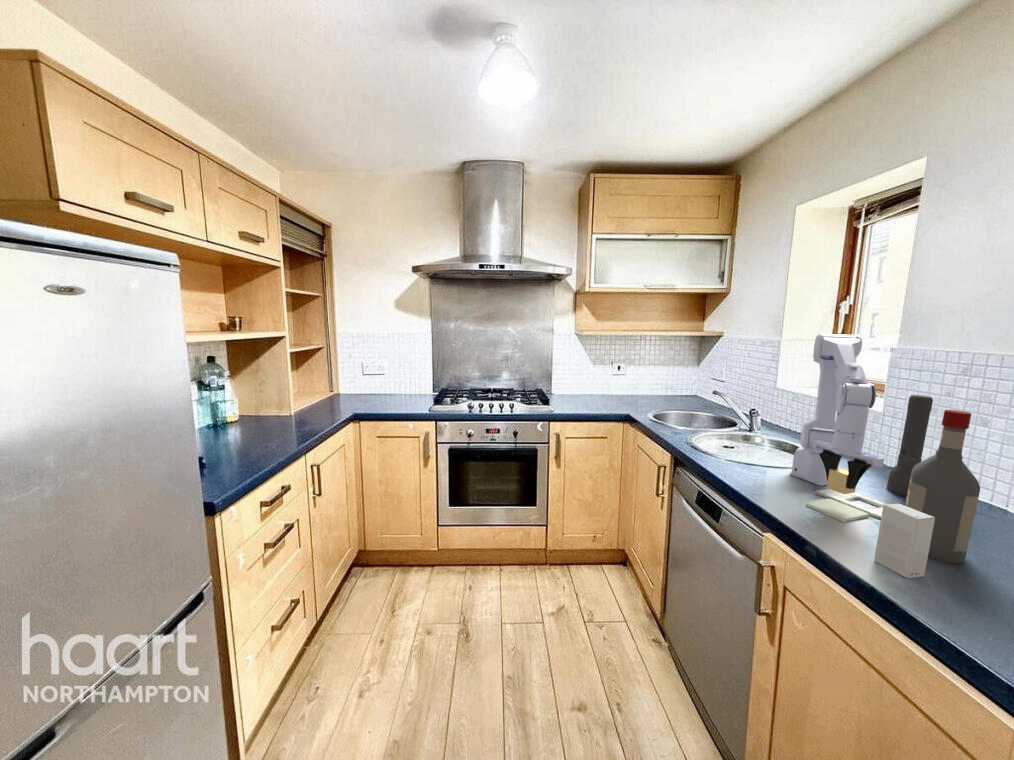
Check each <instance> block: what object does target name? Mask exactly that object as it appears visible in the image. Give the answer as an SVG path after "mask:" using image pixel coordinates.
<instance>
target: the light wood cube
mask: <svg viewBox="0 0 1014 760" xmlns="http://www.w3.org/2000/svg"><path fill="white" fill-rule="evenodd" d="M847 481H848V469H846V468H842V467H838V468H834V469H830V470H829V477H828V483H827V485H826V489H831V490H834V491H836V492H839V493H842V494H849V493H856V489H857V487H856V488H854V489H848V488H847Z"/></svg>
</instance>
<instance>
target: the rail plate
mask: <svg viewBox="0 0 1014 760" xmlns="http://www.w3.org/2000/svg"><path fill="white" fill-rule="evenodd" d="M815 495H818V496H820V497H823V498H824V499H829V498H830V499H832V500H835V501H837V502H840V503H842V504H845V505H847V506H850V507H852V508H855V509H857V510H860V511H863V512H865V513H868V514H869V516H871V517H873V518H876V519H878V520H881V517H882V511H883V505H888V503H886V502H885V503H884V502H883V501H880V500H876V499H874V498H872V497H868V496H866V495H863V494H861V493H859V492H855V493H849V494H842V493H839V492H836V491H834V490H831V489H828V488H824V489H819V490H818V489H817V490H815ZM858 500H859V501H861V502H864V503H868V504H870V505H872V506H876V508H872V509H871V508H868V507H866V506H863V505H861V504H858V503H855V502H852V501H858Z"/></svg>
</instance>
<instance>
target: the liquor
mask: <svg viewBox="0 0 1014 760" xmlns="http://www.w3.org/2000/svg"><path fill="white" fill-rule="evenodd" d="M971 418H972V413H971V412H969V411H968V412H967V411H964V410H955V409H944V411H943V415H942V422H941V425H942V432H941V435H940V439H939V440H940V441H939V444H938V449H937V450H935V454H934V455H932V456H930V457H928V458H925V459H924V460H921V462H920V463H918V464H916V465H915V466H914V467H913V469H912V472H911V477H910V483H909V488H908V493H907V496H906V499H905V504H904V506H907V507H909V508H912V509H914V510H917V511H920V512H922V513H925V514H927V515H930V516H933V517H935V521H934V526H933V532H932V537H931V542H930V548H929V553H928V558H929V559H933V560H936V561H940V562H943V563H947V564H961V563H963V562H964V561H965V560H966V556H967V552H968V546H969V542H970V539H971V538H970V537H971V532H972V530H973V525H974V520H975V519H974V518H975V515H976V511H977V506H978V501H979V498H980V492H981V486H980V484H979V483H980V482H979V481H978V479H977V478H976V476H975V475H974V474H973V472H972V471H971V470H970V468H968V466H967V465H966V464H965V462H964V461H963V458H964V457H963V449H964V443H965V438H966V432H967V430H968V429H969V428H970V423H971Z"/></svg>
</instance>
